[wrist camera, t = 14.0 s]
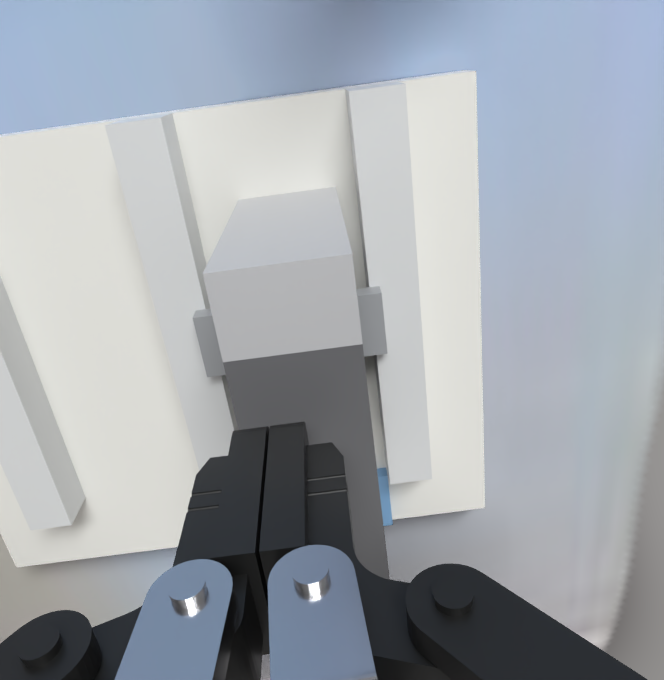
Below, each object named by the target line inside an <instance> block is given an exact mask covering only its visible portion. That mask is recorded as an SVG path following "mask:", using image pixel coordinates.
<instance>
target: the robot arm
mask: <svg viewBox="0 0 664 680" xmlns="http://www.w3.org/2000/svg"><path fill="white" fill-rule="evenodd" d="M191 494H192V497H190V501H189V505H188V512H187V513H186V517H185V521H184V525H183V529H182V532H181V536H180V540H179V544H178V548H177V552H176V556H175V560H174V564H173V567H172V568H170V569H169V570H168V571H166V572H165V573H163V574H162V575H161V576H160V577H159V578H158V579H157V580H156V581H155V582H154V583H153V585H152V586H151V587H150V589H149V591H148V593H147V595H146V597H145V600H144V603H143V605H142V606H141V607H139V608H138V609H136V610H134V611H132V612H130V613H128V614H125V615H123V616H120V617H118V618H115V619H113V620H110V621H108V622H105V623H103V624H100V625H98V626H95V627H93V628H92V627H91V625H90V623H89V621H88V619H87V618H86V617H85V616H84V615H82V614H81V613H79V612H76V611H70V610H61V611H55V612H50V613H47V614H45V615H42V616H40V617H37V618H35V619H33V620H32V621H30V622H28V623H27V624H25V625H24V626H22V627H21V628H20V629H18V630H17V631H16V632H14V633H13V634H12V635H11V636H9V637H8V638H7V639H6V640H4V641H3V642H2V643H1V644H0V680H260V678H261V663H262V655H265V654H270V679H271V680H647V679H646V678H644V677H643V676H641V675H640V674H638V673H636V672H635V671H633V670H632V669H630V668H629V667H627V666H625V665H624V664H623V663H621V662H619V661H618V660H616V659H615V658H613V657H612V656H610V655H609V654H607V653H606V652H604V651H602V650H601V649H599V648H598V647H596V646H595V645H593V644H592V643H590V642H588V641H587V640H585V639H584V638H582V637H581V636H579V635H578V634H576V633H575V632H573V631H571V630H570V629H568V628H567V627H565V626H564V625H562V624H561V623H559V622H558V621H556V620H554V619H553V618H551V617H550V616H548V615H547V614H545V613H544V612H542V611H541V610H539V609H537V608H536V607H534V606H533V605H531V604H530V603H528V602H527V601H525V600H524V599H522V598H520V597H519V596H517V595H516V594H514V593H513V592H511V591H510V590H508V589H506V588H505V587H503V586H502V585H500V584H499V583H497V582H496V581H494V580H493V579H491V578H489V577H488V576H486V575H485V574H483V573H482V572H480V571H478V570H476V569H474V568H471V567H469V566H465V565H460V564H441V565H436V566H433V567H430V568H428V569H426V570H424V571H422V572H421V573H419V574H418V575H417V576H416V577H415V578H414V579H413V580H412V582H411V583H406V582H400V581H394V580H389V579H385V578H382V577H379V576H377V575H375V574H373V573H371V572H370V571H369V570H367V569H366V568H365V567H364V566H363V565H362V564H361V563H360V562H359V560H358V559H357V557H356V552H355V543H354V535H353V525H352V516H351V508H350V501H349V494H348V486H347V479H346V471H345V464H344V457H343V455H342V454H341V453H340V451H339V450H338V449H337V448H336V447H335V445H334V444H333V443H332V442H329V443H321V444H313V445H309V442H308V435H307V429H306V425H305V422H296V423H288V424H281V425H273V426H270V429H269V427H268V426H266V427H258V428H250V429H242V430H235V431H233V433H232V437H231V442H230V448H229V453H228V456H220V457H212V458H210V459H209V460H208V461H207V462H206V463H205V465H204V466H203V467H202V468H201V470H200V471H199V472H198V473H197V474H196V477H195V481H194V485H193V489H192V493H191Z"/></svg>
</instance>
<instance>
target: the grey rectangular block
mask: <svg viewBox="0 0 664 680" xmlns="http://www.w3.org/2000/svg"><path fill="white" fill-rule="evenodd" d="M203 278H204V282H205V286H206V291H207V295H208V300H209V304H210V308H211V313H212V317H213V321H214V326H215V330H216V334H217V339H218V343H219V347H220V352H221V356H222V360H223V365H224V369H225V374H226V378H227V382H228V387H229V391H230V395H231V400H232V404H233V408H234V413H235V417H236V421H237V426H238V430H242V429H250V428H258V427H266V426H268V427H269V429H270V426H273V425H281V424H288V423H296V422H305V425H306V429H307V435H308V442H309V445H313V444H321V443H329V442H332V443H333V444H334V445H335V447H336V448H337V449H338V450H339V451H340V453H341V454H342V455H343V457H344V464H345V471H346V479H347V486H348V494H349V501H350V508H351V516H352V525H353V535H354V543H355V552H356V557H357V559H358V560H359V562H360V563H361V564H362V565H363V566H364V567H365V568H366V569H367V570H369V571H370V572H371V573H373V574H375V575H377V576H379V577H382V578H385V579H389V570H388V561H387V552H386V544H385V535H384V526H383V517H382V509H381V500H380V491H379V482H378V474H377V465H376V456H375V447H374V439H373V430H372V421H371V412H370V404H369V395H368V386H367V377H366V369H365V360H364V351H363V342H362V334H361V325H360V316H359V307H358V299H357V290H356V281H355V272H354V264H353V255H352V250H351V246H350V242H349V238H348V234H347V230H346V226H345V222H344V218H343V214H342V210H341V206H340V202H339V198H338V194H337V190H336V187H329V188H322V189H314V190H307V191H300V192H292V193H285V194H277V195H270V196H263V197H255V198H248V199H240V200H238V201H237V203H236V206H235V208H234V210H233V212H232V214H231V216H230V218H229V220H228V222H227V224H226V226H225V228H224V230H223V232H222V235H221V237H220V239H219V241H218V243H217V245H216V247H215V249H214V251H213V253H212V255H211V257H210V259H209V261H208V264H207V266H206V268H205V270H204V272H203ZM389 580H390V579H389Z"/></svg>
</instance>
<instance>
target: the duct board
mask: <svg viewBox="0 0 664 680" xmlns="http://www.w3.org/2000/svg"><path fill="white" fill-rule="evenodd" d="M329 187H336V190H337V194H338V198H339V202H340V206H341V210H342V214H343V218H344V222H345V226H346V230H347V234H348V238H349V242H350V246H351V250H352V255H353V264H354V272H355V281H356V290H357V299H358V307H359V316H360V325H361V334H362V342H363V351H364V360H365V369H366V377H367V386H368V395H369V404H370V412H371V421H372V430H373V439H374V447H375V456H376V465H377V474H378V482H379V491H380V500H381V509H382V517H383V526H387V525H393V522H392V520H394V519H402V518H410V517H418V516H426V515H433V514H441V513H449V512H457V511H465V510H473V509H481V508H485V485H484V435H483V386H482V337H481V287H480V238H479V188H478V139H477V89H476V71H469V70H461V71H454V72H447V73H440V74H433V75H425V76H418V77H411V78H404V79H397V80H389V81H382V82H375V83H368V84H361V85H353V86H346V87H339V88H332V89H325V90H317V91H310V92H303V93H296V94H289V95H281V96H274V97H267V98H260V99H253V100H245V101H238V102H231V103H224V104H216V105H209V106H202V107H195V108H188V109H180V110H173V111H166V112H159V113H152V114H144V115H137V116H130V117H123V118H116V119H108V120H101V121H94V122H87V123H80V124H72V125H65V126H58V127H51V128H44V129H36V130H29V131H22V132H15V133H8V134H0V534H1V536H2V538H3V540H4V542H5V544H6V546H7V549H8V551H9V553H10V555H11V557H12V559H13V561H14V563H15V565H16V567H24V566H32V565H40V564H48V563H56V562H63V561H71V560H79V559H87V558H95V557H103V556H111V555H119V554H126V553H134V552H142V551H150V550H158V549H166V548H174V547H178V544H179V540H180V536H181V532H182V529H183V525H184V521H185V517H186V513H187V512H188V505H189V501H190V497H192V494H191V493H192V489H193V485H194V481H195V477H196V474H197V473H198V472H199V471H200V470H201V468H202V467H203V466H204V465H205V463H206V462H207V461H208V460H209V459H210V458H212V457H220V456H228V453H229V448H230V442H231V437H232V433H233V431H235V430H238V426H237V421H236V417H235V413H234V408H233V404H232V400H231V395H230V391H229V387H228V382H227V378H226V374H225V369H224V365H223V360H222V356H221V352H220V347H219V343H218V339H217V334H216V330H215V326H214V321H213V317H212V313H211V308H210V304H209V300H208V295H207V291H206V286H205V282H204V278H203V272H204V270H205V268H206V266H207V264H208V261H209V259H210V257H211V255H212V253H213V251H214V249H215V247H216V245H217V243H218V241H219V239H220V237H221V235H222V232H223V230H224V228H225V226H226V224H227V222H228V220H229V218H230V216H231V214H232V212H233V210H234V208H235V206H236V203H237V201H238V200H240V199H248V198H255V197H263V196H270V195H277V194H285V193H292V192H300V191H307V190H314V189H322V188H329Z"/></svg>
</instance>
